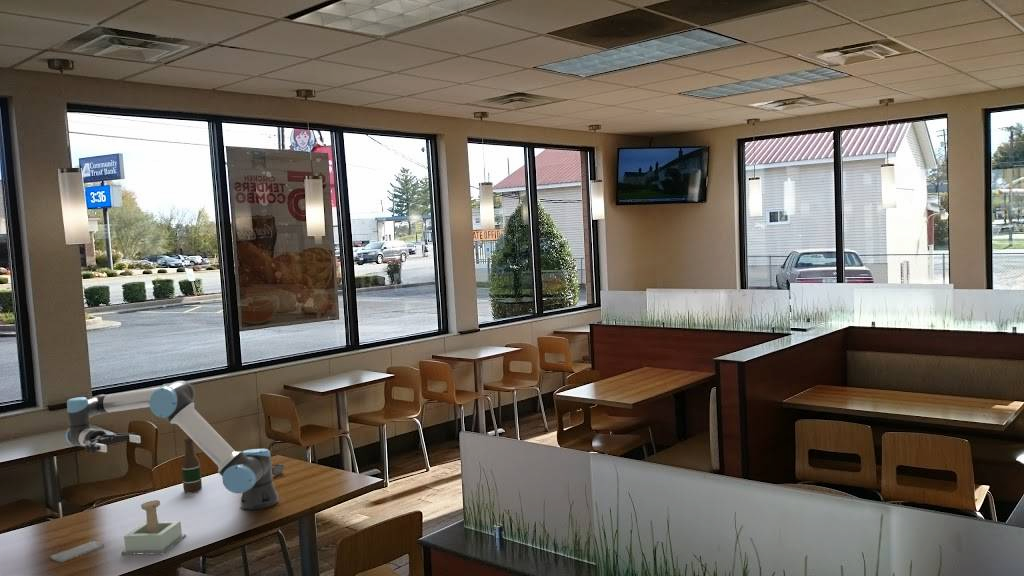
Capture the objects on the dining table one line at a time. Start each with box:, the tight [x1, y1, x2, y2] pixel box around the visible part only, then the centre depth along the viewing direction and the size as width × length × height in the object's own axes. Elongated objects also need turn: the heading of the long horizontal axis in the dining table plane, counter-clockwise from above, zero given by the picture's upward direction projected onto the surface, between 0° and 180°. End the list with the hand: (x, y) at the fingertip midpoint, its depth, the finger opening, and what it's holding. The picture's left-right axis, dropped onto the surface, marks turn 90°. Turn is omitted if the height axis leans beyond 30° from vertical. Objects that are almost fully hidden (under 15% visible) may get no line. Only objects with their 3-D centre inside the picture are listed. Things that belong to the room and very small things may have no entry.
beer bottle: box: [181, 436, 203, 493], centre depth 360 cm, size 8×8×24 cm
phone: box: [50, 540, 105, 563], centre depth 295 cm, size 8×16×1 cm, turn 144°
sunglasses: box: [271, 463, 284, 477], centre depth 379 cm, size 16×17×5 cm
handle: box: [140, 499, 161, 533], centre depth 296 cm, size 5×6×15 cm
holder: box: [120, 520, 187, 555], centre depth 297 cm, size 16×16×6 cm
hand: (123, 444), depth 309 cm, fingers open, 13 cm apart
